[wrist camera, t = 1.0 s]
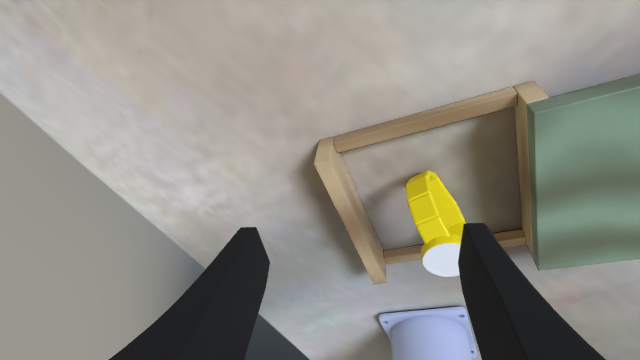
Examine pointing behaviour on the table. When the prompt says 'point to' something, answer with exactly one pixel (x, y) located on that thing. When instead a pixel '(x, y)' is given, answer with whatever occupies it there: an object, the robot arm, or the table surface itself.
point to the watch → (436, 223)
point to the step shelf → (529, 173)
